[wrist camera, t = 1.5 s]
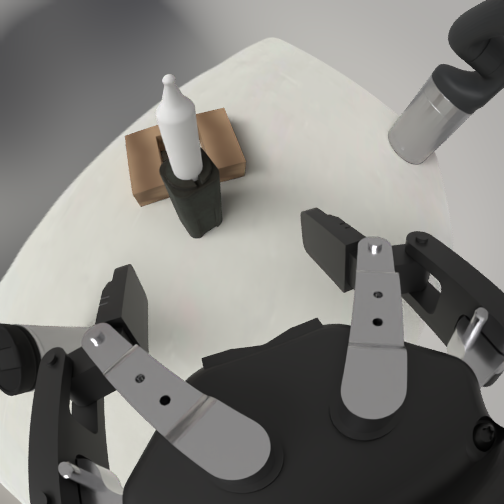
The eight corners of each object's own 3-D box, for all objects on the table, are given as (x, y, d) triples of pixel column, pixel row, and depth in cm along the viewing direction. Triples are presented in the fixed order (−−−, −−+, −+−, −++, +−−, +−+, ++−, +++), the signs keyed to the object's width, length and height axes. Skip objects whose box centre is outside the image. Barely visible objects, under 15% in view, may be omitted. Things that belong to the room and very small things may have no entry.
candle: (205, 194, 39) (186, 46, 15) (225, 221, 38) (223, 79, 14) (175, 213, 38) (119, 76, 14) (194, 241, 37) (146, 114, 13)
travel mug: (122, 365, 32) (32, 395, 13) (85, 373, 31) (-10, 398, 12) (108, 322, 33) (11, 314, 14) (73, 332, 32) (-27, 328, 13)
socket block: (224, 123, 43) (223, 107, 39) (244, 175, 40) (245, 161, 36) (132, 150, 40) (125, 136, 36) (141, 206, 38) (132, 194, 34)
